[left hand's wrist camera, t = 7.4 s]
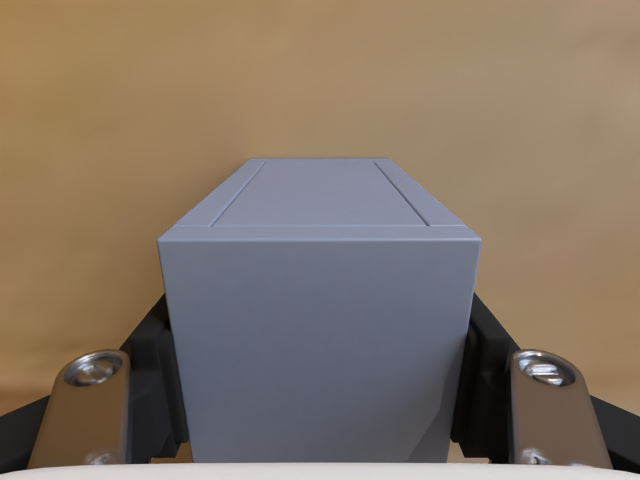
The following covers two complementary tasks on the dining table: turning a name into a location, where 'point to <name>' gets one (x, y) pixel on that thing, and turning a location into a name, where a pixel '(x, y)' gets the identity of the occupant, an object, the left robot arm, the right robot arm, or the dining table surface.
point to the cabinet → (319, 314)
